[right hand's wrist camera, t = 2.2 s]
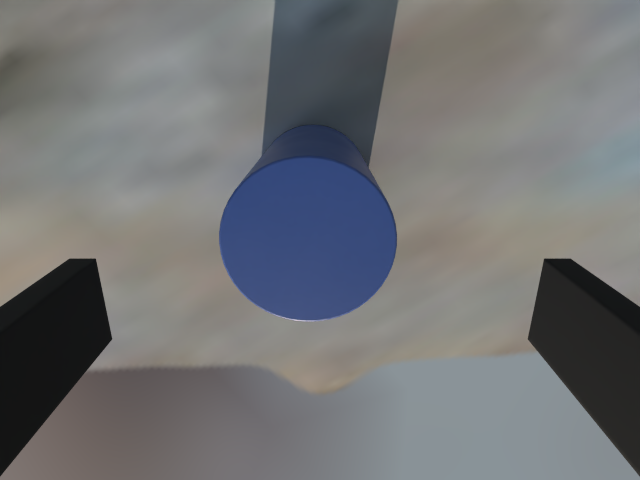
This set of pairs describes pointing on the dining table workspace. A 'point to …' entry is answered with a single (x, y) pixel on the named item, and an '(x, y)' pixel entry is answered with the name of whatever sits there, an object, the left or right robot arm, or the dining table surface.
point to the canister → (308, 228)
